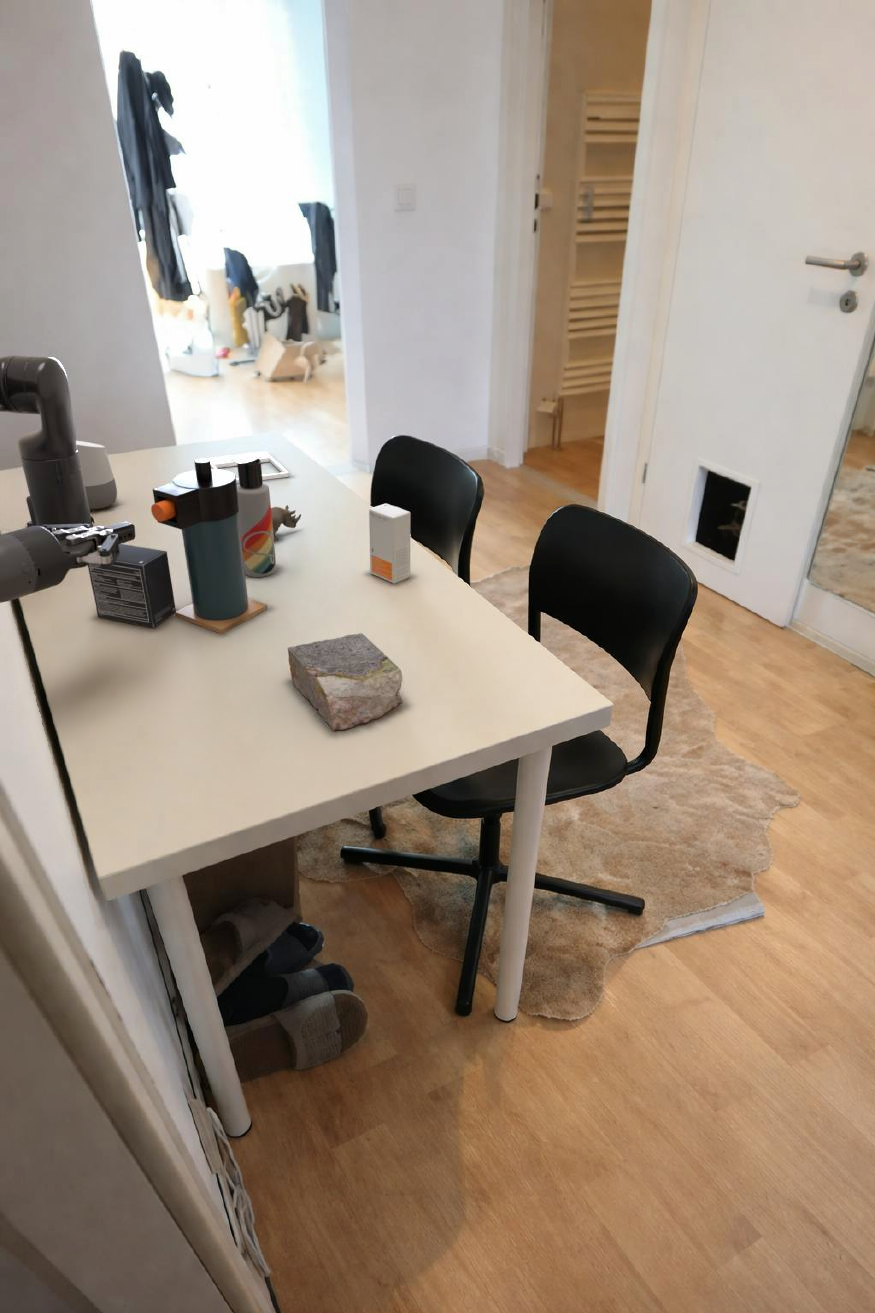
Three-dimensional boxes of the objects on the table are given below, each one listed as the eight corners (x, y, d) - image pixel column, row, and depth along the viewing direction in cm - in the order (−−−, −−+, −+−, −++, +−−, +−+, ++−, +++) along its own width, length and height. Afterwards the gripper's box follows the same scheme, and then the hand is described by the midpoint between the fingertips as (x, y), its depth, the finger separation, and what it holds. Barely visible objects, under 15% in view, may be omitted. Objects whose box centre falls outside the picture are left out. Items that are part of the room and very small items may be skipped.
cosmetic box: (369, 574, 143) (367, 508, 137) (387, 567, 146) (386, 502, 140) (393, 584, 140) (393, 517, 134) (411, 577, 142) (411, 511, 136)
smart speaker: (129, 504, 171) (117, 436, 164) (91, 517, 164) (77, 447, 157) (99, 495, 175) (86, 429, 168) (61, 507, 169) (46, 439, 161)
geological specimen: (357, 627, 116) (410, 671, 105) (358, 666, 119) (410, 712, 107) (285, 644, 111) (332, 691, 100) (288, 683, 114) (334, 734, 102)
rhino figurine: (308, 532, 159) (306, 503, 156) (245, 550, 151) (242, 519, 148) (297, 526, 162) (294, 497, 159) (234, 543, 154) (230, 513, 151)
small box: (179, 611, 130) (169, 549, 125) (154, 629, 125) (142, 565, 120) (123, 600, 133) (111, 539, 128) (96, 617, 128) (82, 555, 122)
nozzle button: (165, 523, 114) (162, 505, 112) (152, 519, 115) (149, 501, 114) (182, 517, 116) (179, 499, 115) (169, 513, 117) (166, 495, 116)
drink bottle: (205, 634, 122) (183, 479, 110) (165, 618, 126) (139, 467, 114) (261, 605, 131) (246, 458, 119) (221, 591, 135) (203, 448, 123)
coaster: (221, 634, 124) (220, 629, 124) (175, 616, 129) (174, 611, 128) (267, 609, 131) (267, 604, 131) (222, 593, 136) (221, 588, 135)
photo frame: (265, 450, 201) (288, 471, 187) (266, 454, 201) (289, 476, 188) (205, 457, 195) (224, 480, 181) (206, 462, 196) (225, 484, 182)
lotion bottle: (269, 579, 141) (258, 464, 131) (237, 576, 142) (224, 461, 132) (281, 566, 146) (271, 454, 135) (250, 562, 146) (239, 451, 136)
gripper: (-17, 578, 102) (100, 543, 115) (53, 610, 96) (168, 569, 110) (-27, 520, 98) (95, 491, 112) (45, 550, 93) (164, 515, 106)
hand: (131, 529), depth 111 cm, fingers closed
